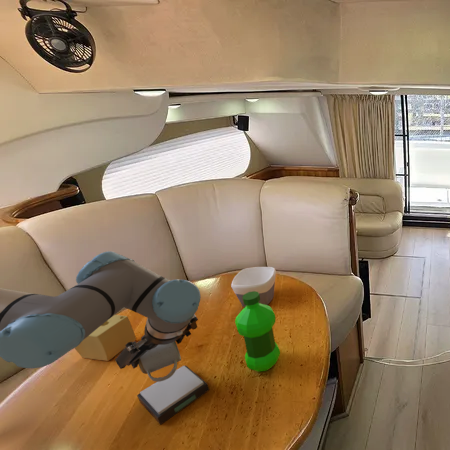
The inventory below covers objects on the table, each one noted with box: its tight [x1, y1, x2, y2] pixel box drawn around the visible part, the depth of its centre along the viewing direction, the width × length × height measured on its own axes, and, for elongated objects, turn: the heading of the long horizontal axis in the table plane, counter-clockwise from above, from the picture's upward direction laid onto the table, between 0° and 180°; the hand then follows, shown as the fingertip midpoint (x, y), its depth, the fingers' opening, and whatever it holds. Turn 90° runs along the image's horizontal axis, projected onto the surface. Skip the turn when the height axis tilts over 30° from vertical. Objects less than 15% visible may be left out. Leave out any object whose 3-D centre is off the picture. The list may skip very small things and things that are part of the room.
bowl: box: [230, 266, 277, 308], centre depth 125 cm, size 15×15×11 cm
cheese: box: [74, 314, 137, 362], centre depth 99 cm, size 10×11×10 cm
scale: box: [136, 365, 210, 426], centre depth 84 cm, size 12×12×3 cm
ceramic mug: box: [138, 341, 182, 383], centre depth 80 cm, size 11×8×8 cm
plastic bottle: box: [234, 291, 281, 373], centre depth 91 cm, size 10×10×25 cm
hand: (155, 350), depth 82 cm, fingers closed on ceramic mug, 9 cm apart
